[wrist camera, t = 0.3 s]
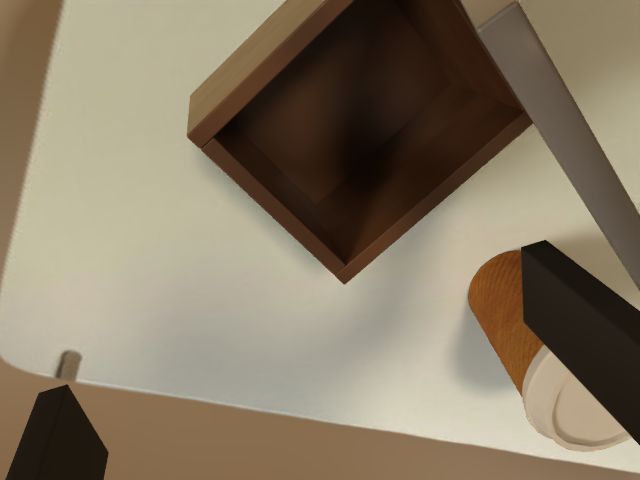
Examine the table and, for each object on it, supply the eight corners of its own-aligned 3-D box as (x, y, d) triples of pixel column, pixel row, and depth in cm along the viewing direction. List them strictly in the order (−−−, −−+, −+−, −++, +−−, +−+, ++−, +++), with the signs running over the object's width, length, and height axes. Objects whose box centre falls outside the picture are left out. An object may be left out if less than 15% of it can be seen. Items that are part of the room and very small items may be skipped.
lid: (677, 350, 14) (710, 339, 14) (474, 30, 9) (517, -1, 9) (543, 120, 24) (559, 109, 24) (415, -86, 20) (434, -103, 19)
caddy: (312, 216, 34) (344, 285, 26) (189, 95, 29) (185, 136, 22) (463, 81, 32) (545, 112, 25) (358, -72, 28) (420, -93, 20)
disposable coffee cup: (575, 225, 39) (715, 316, 28) (549, 331, 43) (662, 444, 33) (456, 235, 37) (557, 335, 27) (440, 344, 41) (523, 469, 31)
